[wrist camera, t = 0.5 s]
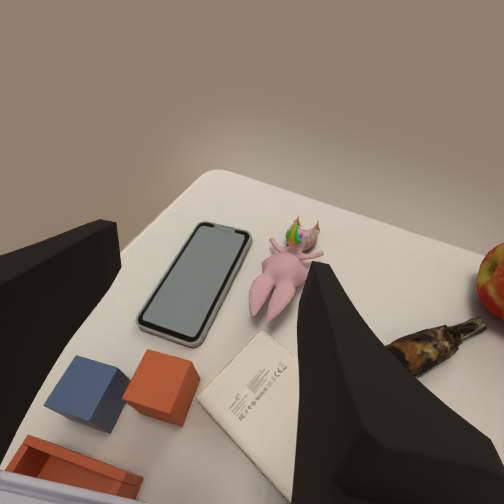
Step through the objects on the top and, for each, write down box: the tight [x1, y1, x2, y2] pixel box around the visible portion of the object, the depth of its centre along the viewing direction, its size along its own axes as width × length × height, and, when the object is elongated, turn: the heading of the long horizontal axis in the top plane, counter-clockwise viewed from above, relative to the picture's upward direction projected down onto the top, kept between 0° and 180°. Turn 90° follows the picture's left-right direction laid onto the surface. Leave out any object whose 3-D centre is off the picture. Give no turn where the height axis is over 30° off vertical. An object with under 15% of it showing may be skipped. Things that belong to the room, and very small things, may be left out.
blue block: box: [44, 356, 131, 433], centre depth 26 cm, size 4×4×4 cm
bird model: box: [385, 317, 488, 376], centre depth 28 cm, size 3×14×3 cm, turn 108°
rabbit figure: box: [249, 215, 324, 322], centre depth 33 cm, size 6×6×15 cm
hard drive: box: [196, 330, 299, 503], centre depth 25 cm, size 2×8×12 cm
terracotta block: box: [122, 349, 200, 426], centre depth 26 cm, size 4×4×4 cm
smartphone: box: [136, 221, 252, 347], centre depth 35 cm, size 7×1×15 cm
